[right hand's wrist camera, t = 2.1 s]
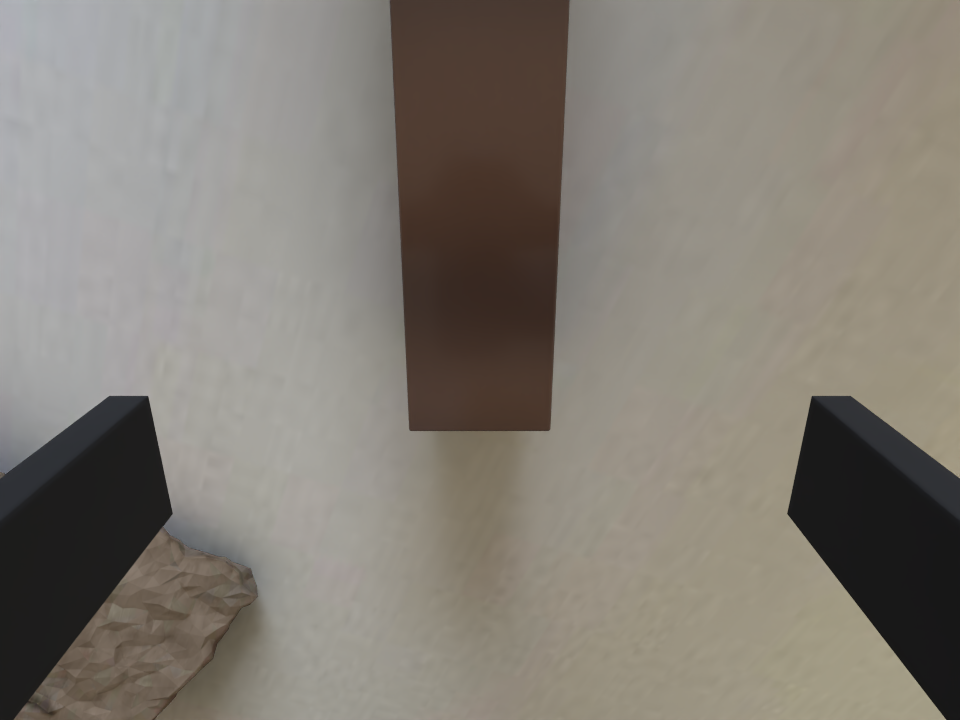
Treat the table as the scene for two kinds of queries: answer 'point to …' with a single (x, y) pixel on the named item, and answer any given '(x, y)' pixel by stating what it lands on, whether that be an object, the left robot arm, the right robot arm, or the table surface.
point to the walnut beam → (479, 206)
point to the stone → (146, 636)
